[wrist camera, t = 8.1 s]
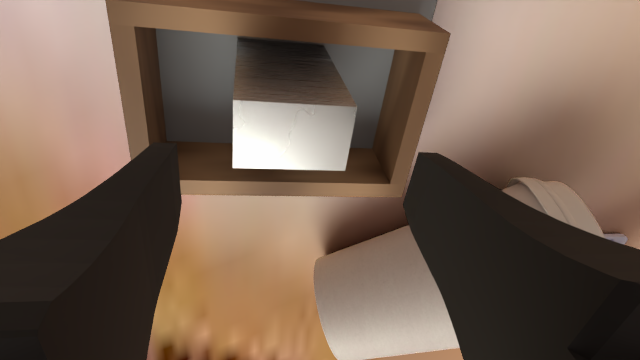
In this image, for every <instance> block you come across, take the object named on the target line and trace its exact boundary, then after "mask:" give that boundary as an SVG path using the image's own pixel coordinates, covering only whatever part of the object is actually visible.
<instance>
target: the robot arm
mask: <svg viewBox="0 0 640 360" xmlns="http://www.w3.org/2000/svg"><path fill="white" fill-rule="evenodd" d="M181 203H182V200H181V188H180V176H179V164H178V152H177V143H159V142H153V143H152V144H151V145H149V146H148V147H147V148H146V149H145V150H143V151H142V152H141V153H140V154H139V155H137V156H136V157H135V158H134V159H133V160H131V161H130V162H129V163H128V164H127V165H125V166H124V167H123V168H121V169H120V170H119V171H118V172H116V173H115V174H114V175H113V176H111V177H110V178H108V179H107V180H106V181H104V182H103V183H101V184H100V185H99V186H97V187H96V188H94V189H93V190H91V191H90V192H89V193H87V194H86V195H84V196H83V197H81V198H80V199H78V200H76V201H75V202H73V203H71V204H70V205H68V206H66V207H65V208H63V209H61V210H59V211H58V212H56V213H54V214H52V215H50V216H49V217H47V218H45V219H43V220H41V221H39V222H37V223H34V224H32V225H30V226H28V227H26V228H24V229H22V230H20V231H18V232H16V233H13V234H11V235H9V236H7V237H5V238H3V239H0V360H146V359H147V353H148V346H149V341H150V335H151V329H152V324H153V318H154V313H155V308H156V304H157V300H158V296H159V293H160V289H161V286H162V283H163V279H164V276H165V272H166V269H167V266H168V262H169V259H170V256H171V252H172V249H173V245H174V242H175V238H176V235H177V231H178V224H179V218H180V210H181ZM403 207H404V210H405V214H406V217H407V221H408V224H409V227H410V230H411V232H412V234H413V237H414V239H415V241H416V243H417V245H418V247H419V249H420V251H421V254H422V256H423V258H424V260H425V262H426V264H427V266H428V268H429V270H430V272H431V274H432V276H433V278H434V280H435V282H436V284H437V286H438V288H439V291H440V293H441V295H442V298H443V300H444V302H445V305H446V308H447V311H448V314H449V317H450V319H451V322H452V325H453V328H454V331H455V334H456V337H457V340H458V343H459V347H460V350H461V353H462V356H463V359H464V360H640V250H639V249H636V248H633V247H630V246H627V245H624V244H625V243H626V242H627V239H628V238H627V237H626V236H625V235H624V234H604V236H605V238H603V237H600V236H597V235H595V234H592V233H589V232H587V231H584V230H582V229H579V228H577V227H574V226H572V225H569V224H567V223H564V222H562V221H560V220H558V219H555V218H553V217H551V216H549V215H547V214H545V213H543V212H540V211H538V210H536V209H534V208H532V207H530V206H528V205H526V204H524V203H523V202H521V201H519V200H517V199H515V198H514V197H512V196H510V195H508V194H506V193H505V192H503V191H501V190H499V189H498V188H496V187H494V186H493V185H491V184H489V183H488V182H486V181H484V180H483V179H481V178H480V177H478V176H476V175H475V174H473V173H471V172H470V171H468V170H467V169H465V168H463V167H462V166H460V165H458V164H457V163H455V162H453V161H452V160H450V159H448V158H446V157H444V156H442V155H440V154H438V153H422V152H419V153H418V156H417V160H416V163H415V166H414V170H413V173H412V176H411V180H410V183H409V186H408V189H407V193H406V196H405V199H404V203H403Z"/></svg>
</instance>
